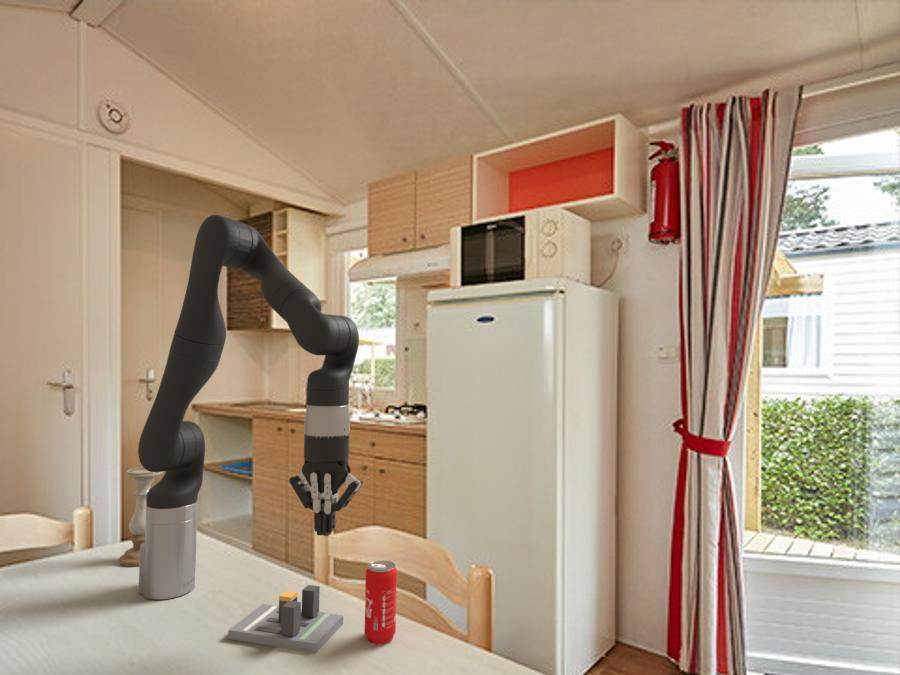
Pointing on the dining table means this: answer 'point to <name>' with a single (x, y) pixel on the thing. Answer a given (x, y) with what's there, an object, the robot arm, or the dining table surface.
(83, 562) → the dining table surface
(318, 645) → the panel
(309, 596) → the block
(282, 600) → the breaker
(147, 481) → the candle holder
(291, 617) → the block
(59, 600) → the dining table surface
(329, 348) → the robot arm
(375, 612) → the beverage can
